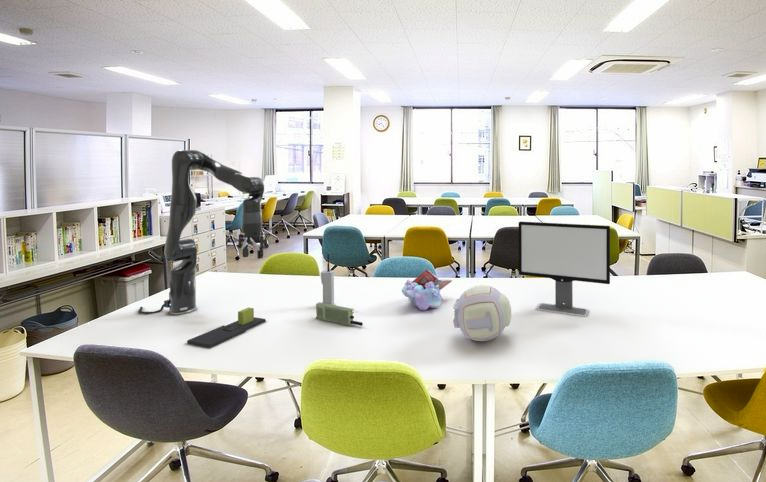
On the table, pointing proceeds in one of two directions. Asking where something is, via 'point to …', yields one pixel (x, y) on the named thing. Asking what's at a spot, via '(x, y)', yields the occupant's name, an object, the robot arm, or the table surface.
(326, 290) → the vintage mobile phone
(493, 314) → the paneled ball
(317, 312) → the handheld radio
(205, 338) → the charcoal pad
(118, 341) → the table surface
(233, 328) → the black pad
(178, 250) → the robot arm
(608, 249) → the computer monitor
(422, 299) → the lavender knobbly lump
